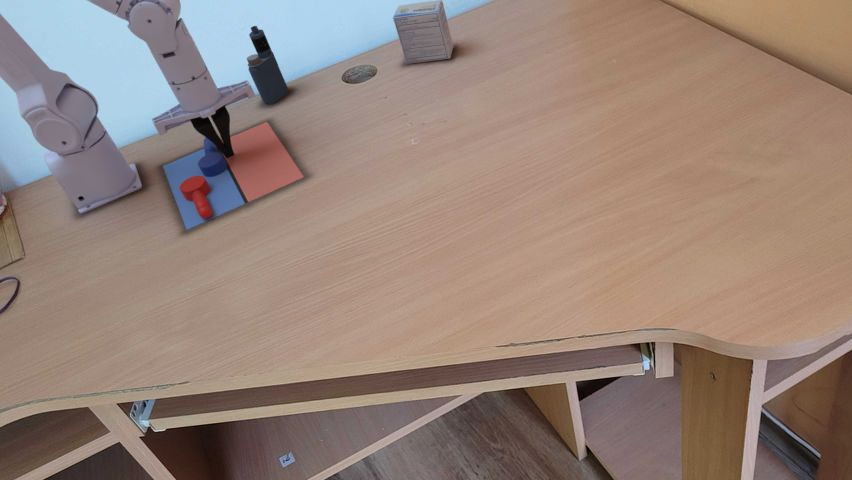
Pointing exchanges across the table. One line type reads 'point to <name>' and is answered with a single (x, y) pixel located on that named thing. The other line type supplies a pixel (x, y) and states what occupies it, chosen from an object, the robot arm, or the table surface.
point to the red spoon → (197, 194)
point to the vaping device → (265, 69)
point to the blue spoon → (212, 160)
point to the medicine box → (423, 31)
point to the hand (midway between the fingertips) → (229, 154)
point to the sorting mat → (236, 173)
